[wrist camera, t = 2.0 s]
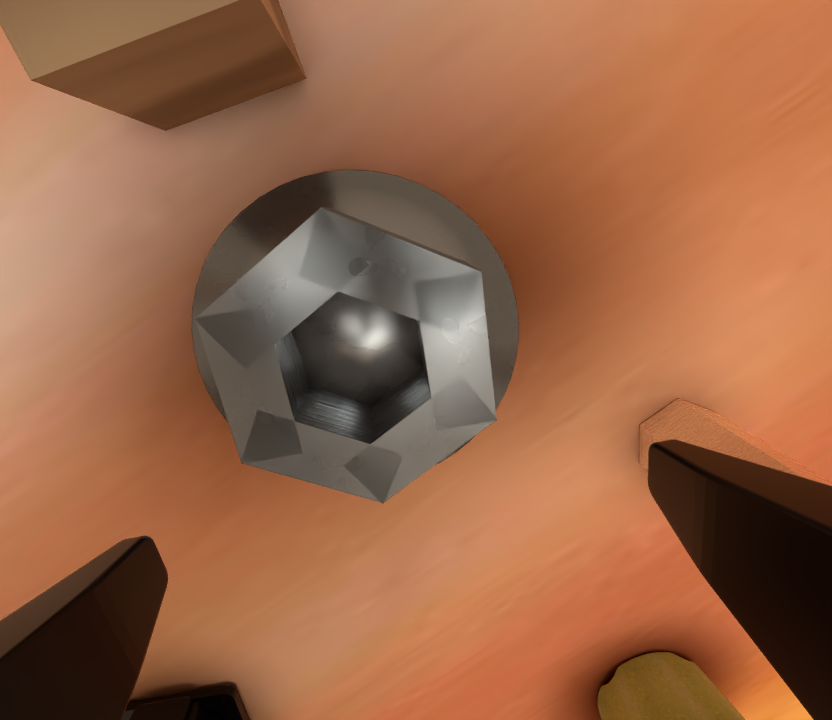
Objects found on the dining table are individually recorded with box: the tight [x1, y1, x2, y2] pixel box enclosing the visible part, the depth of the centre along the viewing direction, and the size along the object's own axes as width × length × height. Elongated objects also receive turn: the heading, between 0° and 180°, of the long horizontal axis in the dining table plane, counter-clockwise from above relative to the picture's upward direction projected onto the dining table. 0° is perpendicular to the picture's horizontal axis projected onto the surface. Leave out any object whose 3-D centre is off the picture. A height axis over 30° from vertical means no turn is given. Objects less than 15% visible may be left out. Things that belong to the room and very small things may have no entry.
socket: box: [192, 170, 519, 503], centre depth 16 cm, size 12×12×4 cm
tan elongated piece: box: [639, 398, 832, 486], centre depth 15 cm, size 4×3×10 cm
